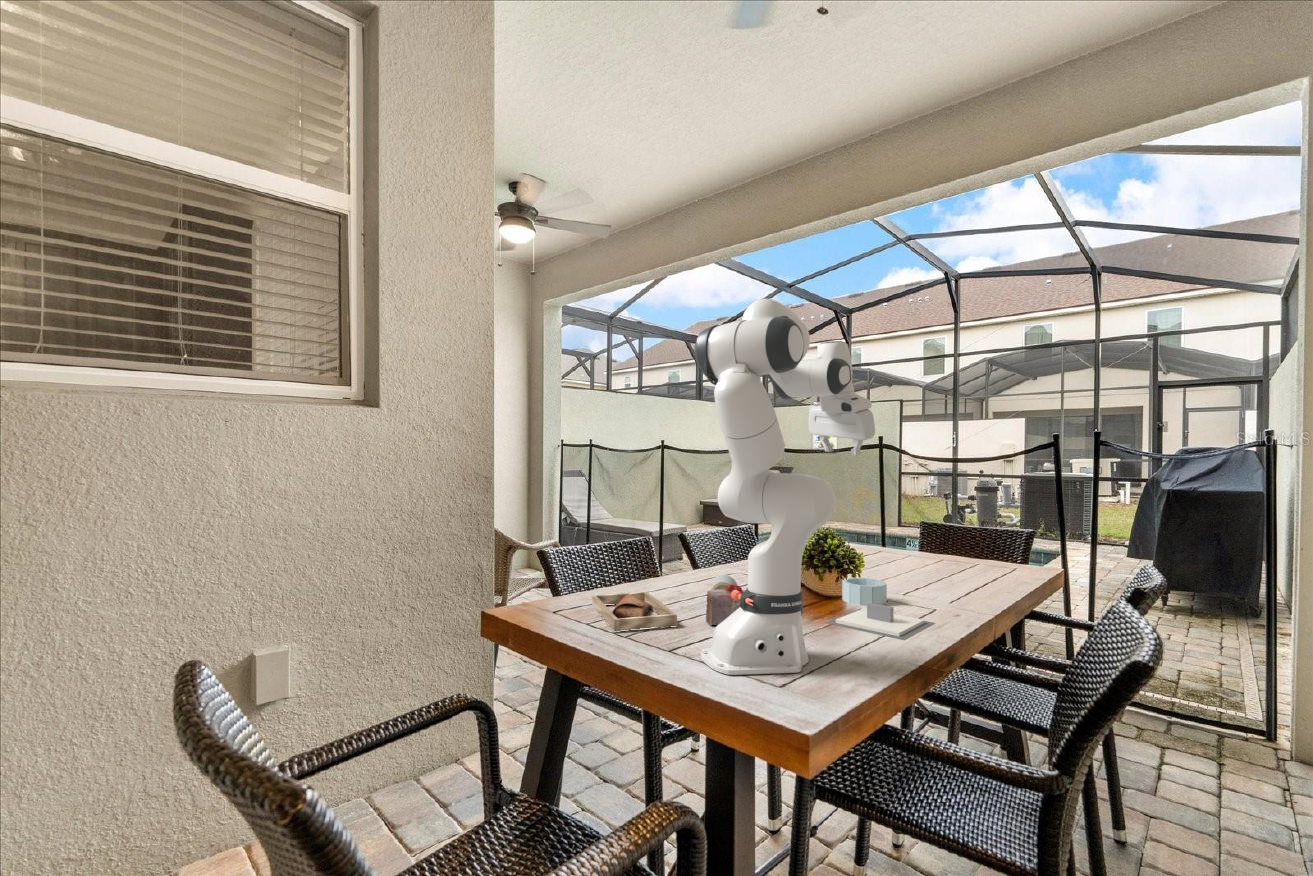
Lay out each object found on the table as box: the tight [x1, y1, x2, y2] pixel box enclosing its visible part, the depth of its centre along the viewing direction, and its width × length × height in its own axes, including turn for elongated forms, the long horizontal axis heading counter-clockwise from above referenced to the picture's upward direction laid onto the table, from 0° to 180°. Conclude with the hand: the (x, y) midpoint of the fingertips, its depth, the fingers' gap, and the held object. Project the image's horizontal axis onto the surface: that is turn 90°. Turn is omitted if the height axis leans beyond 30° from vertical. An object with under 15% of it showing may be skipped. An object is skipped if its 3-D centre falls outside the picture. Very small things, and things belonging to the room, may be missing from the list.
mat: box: [824, 608, 936, 641], centre depth 151 cm, size 20×20×1 cm
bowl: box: [841, 577, 888, 607], centre depth 175 cm, size 12×12×6 cm
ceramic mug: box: [710, 574, 738, 590], centre depth 172 cm, size 11×8×8 cm
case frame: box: [591, 591, 678, 631], centre depth 158 cm, size 16×26×3 cm, turn 18°
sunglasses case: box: [611, 592, 652, 618], centre depth 158 cm, size 18×7×7 cm
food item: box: [705, 584, 746, 627], centre depth 152 cm, size 14×8×10 cm, turn 94°
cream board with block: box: [836, 603, 926, 636], centre depth 151 cm, size 16×16×4 cm
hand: (842, 453), depth 161 cm, fingers open, 8 cm apart
